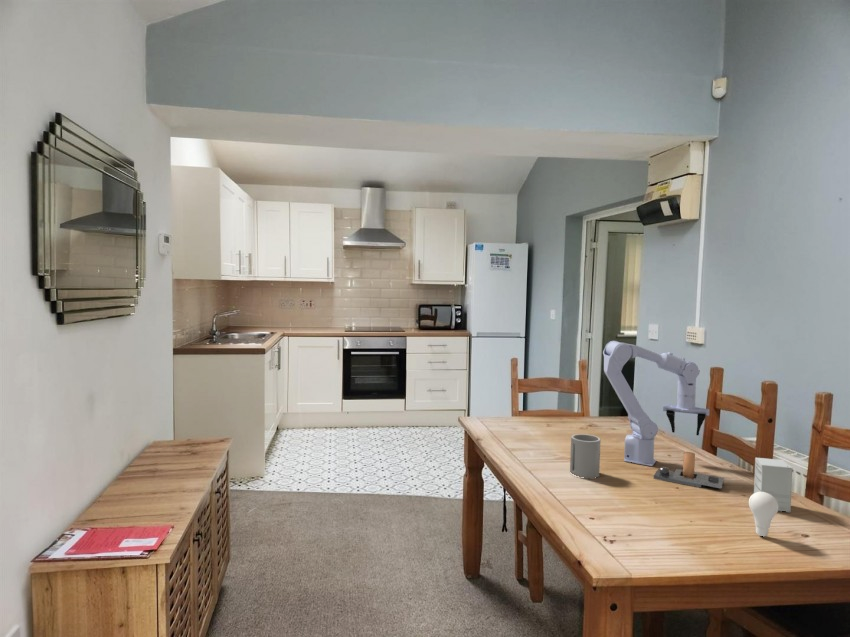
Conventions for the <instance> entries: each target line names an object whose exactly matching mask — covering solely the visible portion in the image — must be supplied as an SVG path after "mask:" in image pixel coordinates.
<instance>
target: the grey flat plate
mask: <svg viewBox="0 0 850 637" xmlns="http://www.w3.org/2000/svg"><path fill="white" fill-rule="evenodd" d="M653 479H655V480H659V481H664V482H668V483H675V484H680V485H686V486H691V487H695V488H699V487H700V489H701V488H702V486H707V487H710V488H714V489H717V488H718V489H722V488H723V485H724V477H722V476H717V475H711V474H706V473H700V472H695V471H694V478H690V477H684V476H683V469H678V468H676V469H675V471H673V470H670V467H667V466H659V468H657V470H656V471H655V473H654V475H653Z"/></svg>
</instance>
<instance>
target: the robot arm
mask: <svg viewBox="0 0 850 637" xmlns="http://www.w3.org/2000/svg"><path fill="white" fill-rule="evenodd" d="M602 354H603V372H604V374H605V376H606V377H607V379H608V381H609V383H610V384H611V386H612V389H613V390H614V391H615V394H616V395H617V397H618V399H619V401H620V402H621V403H622V406H623V407H624V409H625V411H626V413H627V418H628V420H629V427H630V429H631V430H632V433H631V434H626V436H625V439H624V451H623V452H624V456H623V457H624V458H623V461H624V462H626V463H631V462H632V463H633V464H637V465H638V464H639V465H643V466H649V467H653V466H654V465H655V463H656V462H657V459H656V458H654V457H655V456H654V455H655V438H656V436H657V435H658V433H659V428H658V425H657V423H656V422H654V421H653V420H651V417H649V415H648V414H647V413H646V412H645V410H644V409H643V407H642V406H641V404H640V402H639V401H638V399H637V397H636V395H635V393H634V392H633V390H632V389H631V386H630V385H629V383H628V382H627V379H626V378H625V376H624V374H623V373H622V371H623V368H624V366H625V365H626V363H627V362H628V361H629V360H630V359H634V358H638V357H639V358H641V359H644V360H647V361H650V362H654V363H656V365H657V367H658V368H659V369H662V370H664V371H667V372H668V373H669V372H670V373H672V374H675V375H677V388H676V389H677V390H676V392H677V394H676V395H677V396H676V403H677V404H672V405H671V404H663V405H662V406H663V407H662V412H666V417H667V418H668V421H669V423H670V427H671V433H675V432H676V431H675V430H676V426H675V419H676V418H675V417H676V416H675V414H676V413H683V414H684V413H685V414H694V415H697V417H696V418H697V420H696V421H697V422H696V423H697V424H696V433H695V434H696V436H699V435H700V430H701V427H702V425H703V424H704V421H705V419H706V417H707V416H708V417H709V416H710V408H704V407H703V408H701V407H698V406H697V407H696V394H697V393H696V389H697V388H696V385H697V378H698V376H699V375H700V369H699V366H698V365H697V364H696V363H695V362H692V361H688V360H686V358H685V357H677V356H675V355H674V353H672V352H663V353H660V354H659V353H656V352H655V351H654V352H653V351H652V350H649V349H646V348H644V347H642V346H638V345H636V344H632V343H631V344H630V343H626V342H619V341H618V340H611V341H608V342H607V343H606V344H605V347H604V349H603V351H602ZM632 463H631V464H632Z"/></svg>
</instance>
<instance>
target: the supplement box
mask: <svg viewBox="0 0 850 637" xmlns="http://www.w3.org/2000/svg"><path fill="white" fill-rule="evenodd" d="M753 483H754V484H753V494H754V493H756V492H766V493H768V494H770V495H772V496H773V497H774V498H775V499H776V501H777V503H778V512H782V511H786V512H785V513H791V512H792V507H791V506H792V486H793V467H792V466H791V465H790V464H788V462H786V461H785V460H784V459H775V458H774V459H773V458H766V457H765V458H764V457H755V458H754V482H753Z"/></svg>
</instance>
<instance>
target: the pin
mask: <svg viewBox="0 0 850 637" xmlns="http://www.w3.org/2000/svg"><path fill="white" fill-rule="evenodd" d="M695 462H696V453H694V452H692V451H684V452H683V463H682V464H683V465H682V470H683V476H684V477H690V478H694V472H695Z"/></svg>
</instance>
